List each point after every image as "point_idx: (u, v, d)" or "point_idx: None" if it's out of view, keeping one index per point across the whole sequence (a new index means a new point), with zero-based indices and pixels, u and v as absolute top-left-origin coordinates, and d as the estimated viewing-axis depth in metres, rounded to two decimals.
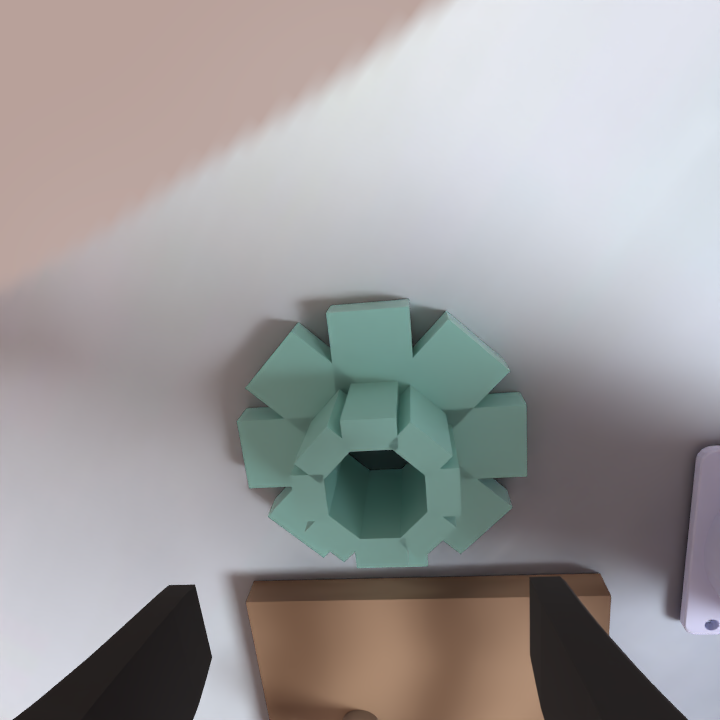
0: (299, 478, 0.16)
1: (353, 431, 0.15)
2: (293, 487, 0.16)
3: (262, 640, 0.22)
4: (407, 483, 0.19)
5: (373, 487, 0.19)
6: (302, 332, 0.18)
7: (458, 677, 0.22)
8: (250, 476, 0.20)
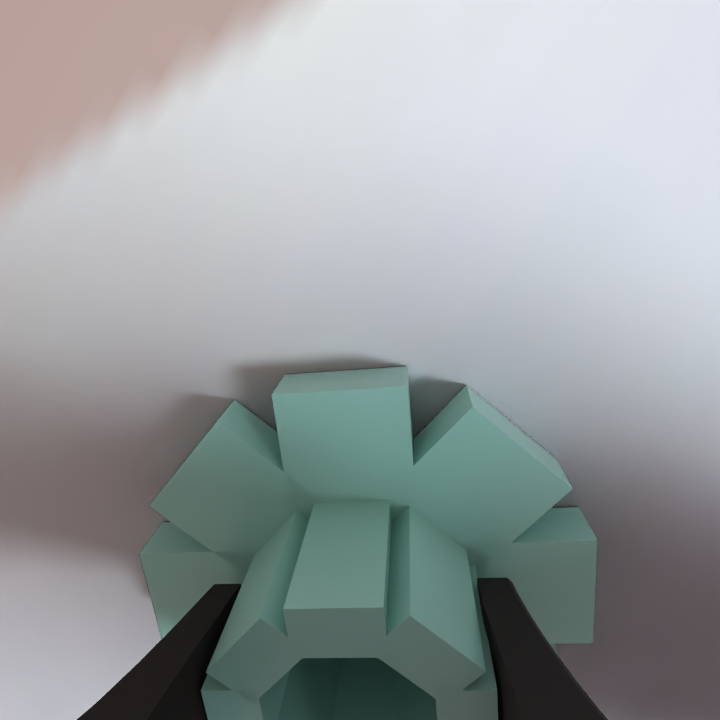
0: (216, 695, 0.09)
1: (307, 626, 0.09)
2: (207, 708, 0.09)
3: None
4: None
5: None
6: (237, 420, 0.12)
7: None
8: (164, 631, 0.13)
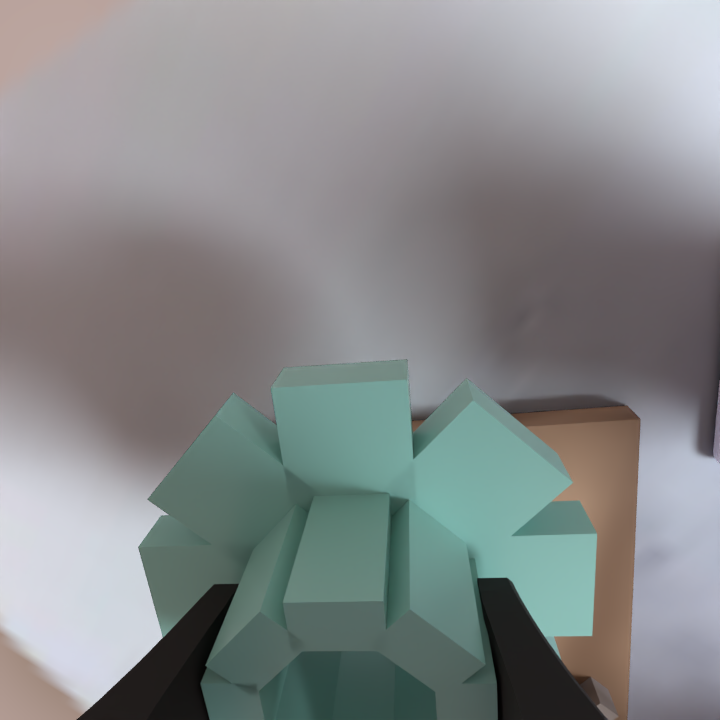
0: (216, 688, 0.09)
1: (307, 620, 0.09)
2: (207, 701, 0.09)
3: None
4: None
5: None
6: (236, 413, 0.11)
7: None
8: (164, 624, 0.13)
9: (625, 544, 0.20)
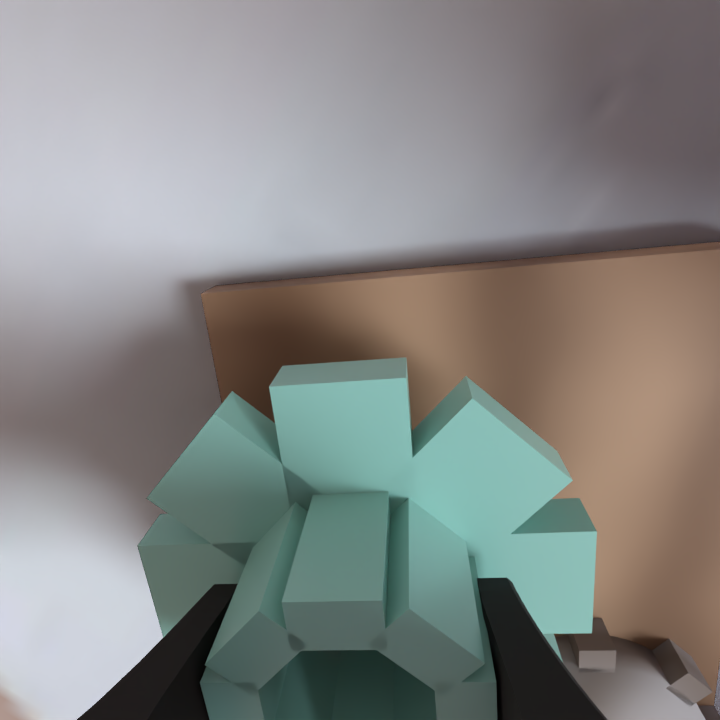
0: (216, 687, 0.09)
1: (306, 619, 0.09)
2: (206, 700, 0.09)
3: (227, 362, 0.15)
4: None
5: None
6: (235, 412, 0.11)
7: (523, 413, 0.14)
8: (164, 622, 0.13)
9: None
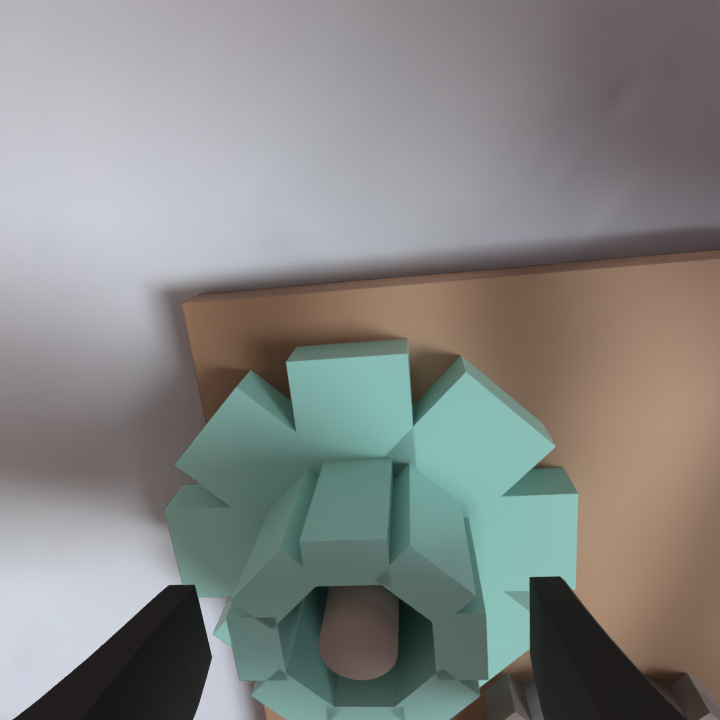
0: (240, 622, 0.10)
1: (321, 557, 0.10)
2: (231, 634, 0.11)
3: (211, 378, 0.14)
4: None
5: None
6: (254, 386, 0.13)
7: None
8: (186, 582, 0.14)
9: None
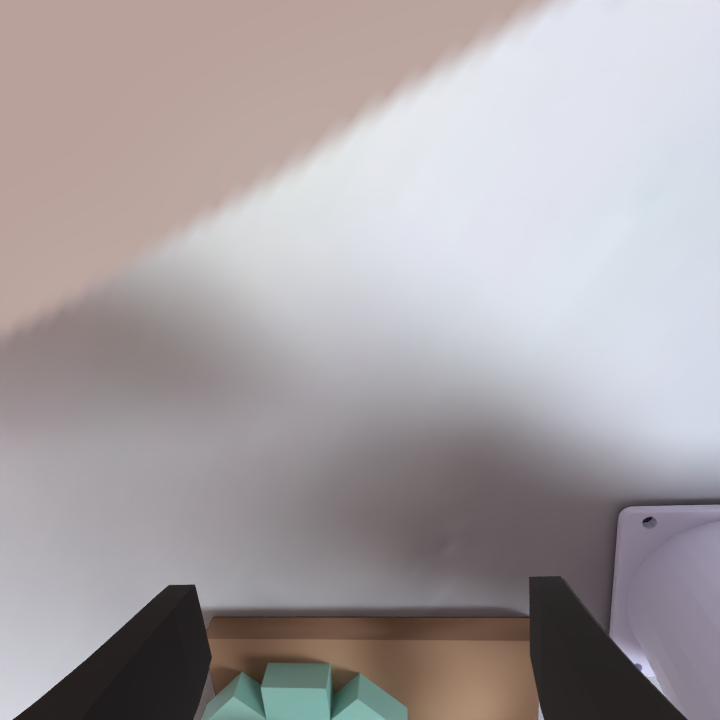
0: None
1: None
2: None
3: (219, 674, 0.23)
4: None
5: None
6: (243, 688, 0.23)
7: None
8: None
9: None
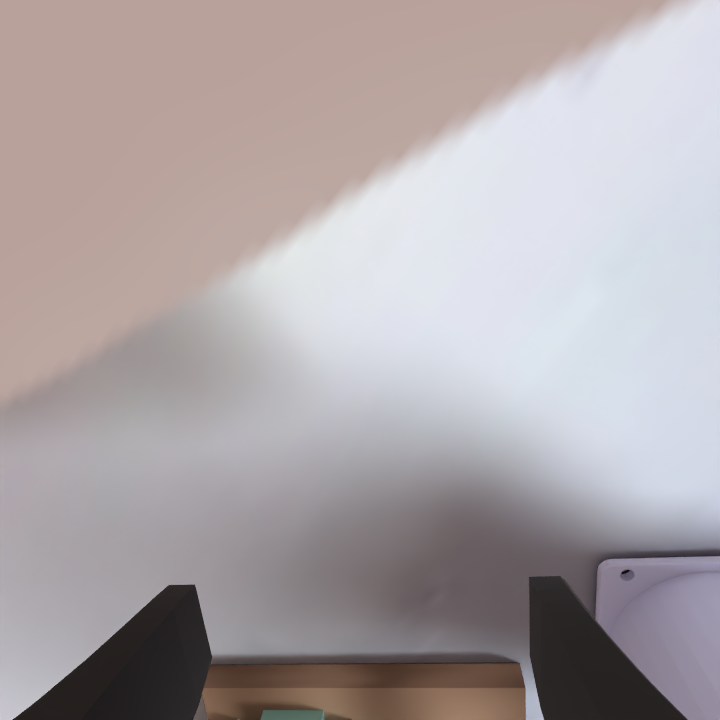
0: None
1: None
2: None
3: None
4: None
5: None
6: None
7: None
8: None
9: None
